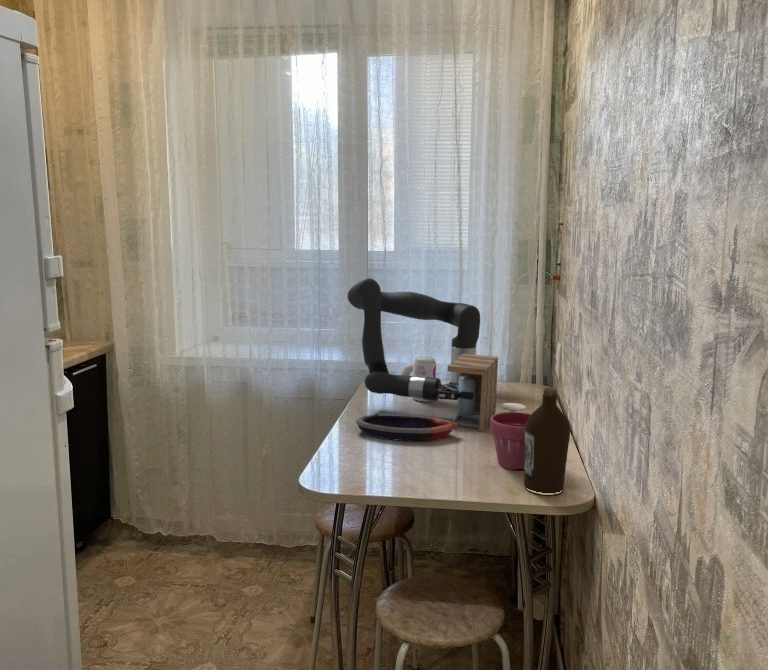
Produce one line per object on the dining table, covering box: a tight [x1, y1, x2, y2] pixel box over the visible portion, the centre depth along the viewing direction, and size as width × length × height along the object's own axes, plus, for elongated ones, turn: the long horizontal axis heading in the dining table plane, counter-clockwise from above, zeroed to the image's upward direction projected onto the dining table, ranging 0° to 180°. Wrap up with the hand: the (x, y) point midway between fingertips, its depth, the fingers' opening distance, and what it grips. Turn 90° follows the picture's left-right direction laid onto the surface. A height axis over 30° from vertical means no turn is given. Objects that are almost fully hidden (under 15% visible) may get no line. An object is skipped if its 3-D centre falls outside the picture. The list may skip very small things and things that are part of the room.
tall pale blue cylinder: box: [457, 376, 477, 416], centre depth 221 cm, size 6×6×12 cm
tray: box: [451, 412, 480, 430], centre depth 222 cm, size 14×9×1 cm, turn 161°
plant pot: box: [489, 411, 532, 470], centre depth 183 cm, size 14×14×13 cm
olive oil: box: [523, 387, 571, 493], centre depth 166 cm, size 11×11×25 cm
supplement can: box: [412, 356, 437, 403], centre depth 246 cm, size 8×8×15 cm
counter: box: [446, 354, 499, 433], centre depth 221 cm, size 21×12×20 cm, turn 161°
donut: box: [400, 362, 413, 376], centre depth 262 cm, size 10×4×10 cm, turn 77°
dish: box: [355, 412, 458, 442], centre depth 207 cm, size 16×31×5 cm, turn 82°
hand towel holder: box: [500, 402, 526, 412], centre depth 221 cm, size 17×4×21 cm
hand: (475, 393), depth 220 cm, fingers closed on tall pale blue cylinder, 5 cm apart
